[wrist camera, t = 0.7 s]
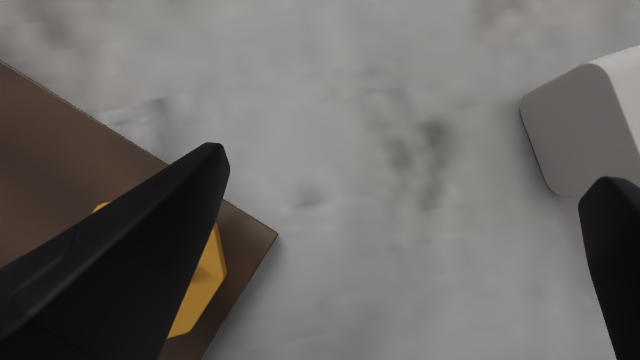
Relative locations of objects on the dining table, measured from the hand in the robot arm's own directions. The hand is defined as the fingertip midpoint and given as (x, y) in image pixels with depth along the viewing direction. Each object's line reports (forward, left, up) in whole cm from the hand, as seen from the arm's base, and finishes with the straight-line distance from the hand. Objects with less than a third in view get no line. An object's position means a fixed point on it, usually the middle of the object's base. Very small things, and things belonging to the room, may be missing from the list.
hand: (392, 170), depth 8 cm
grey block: (+16, -15, -14) cm, 26 cm away
